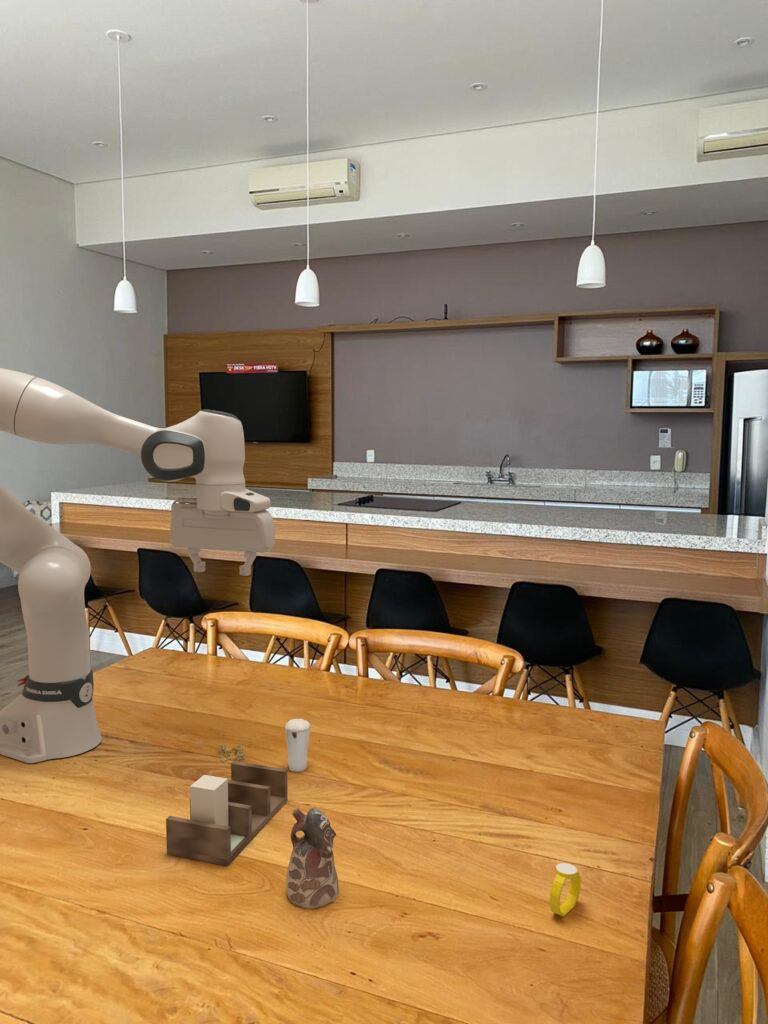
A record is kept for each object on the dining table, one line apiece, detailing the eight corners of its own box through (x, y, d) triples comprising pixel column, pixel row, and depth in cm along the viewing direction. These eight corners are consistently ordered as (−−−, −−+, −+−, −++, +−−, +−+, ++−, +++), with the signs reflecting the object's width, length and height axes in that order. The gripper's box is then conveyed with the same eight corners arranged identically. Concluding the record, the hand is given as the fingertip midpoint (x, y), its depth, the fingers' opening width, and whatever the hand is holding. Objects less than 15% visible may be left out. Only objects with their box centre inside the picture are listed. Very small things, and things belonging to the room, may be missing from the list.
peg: (191, 843, 119) (190, 786, 118) (205, 830, 123) (204, 774, 121) (215, 848, 118) (214, 790, 116) (228, 835, 121) (227, 778, 120)
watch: (565, 898, 109) (568, 856, 108) (584, 907, 107) (587, 863, 106) (543, 915, 104) (546, 871, 104) (562, 924, 102) (565, 879, 102)
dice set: (219, 754, 154) (218, 744, 154) (245, 753, 155) (245, 743, 155) (216, 765, 149) (216, 755, 149) (244, 764, 150) (244, 754, 150)
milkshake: (310, 775, 144) (310, 721, 143) (281, 772, 145) (281, 719, 144) (317, 764, 149) (317, 712, 147) (289, 761, 150) (289, 710, 149)
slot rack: (166, 854, 118) (165, 818, 117) (234, 791, 138) (233, 761, 137) (227, 866, 115) (227, 830, 114) (287, 800, 135) (287, 769, 134)
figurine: (331, 912, 105) (331, 825, 103) (279, 905, 106) (278, 819, 104) (343, 881, 112) (344, 799, 110) (294, 875, 113) (294, 794, 111)
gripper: (162, 498, 147) (163, 572, 148) (263, 503, 141) (264, 580, 142) (180, 495, 153) (182, 566, 154) (278, 499, 147) (279, 573, 148)
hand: (222, 573), depth 148 cm, fingers open, 8 cm apart
